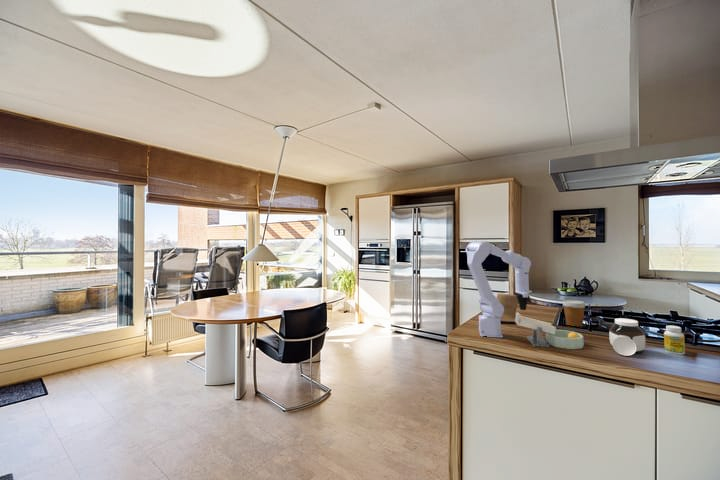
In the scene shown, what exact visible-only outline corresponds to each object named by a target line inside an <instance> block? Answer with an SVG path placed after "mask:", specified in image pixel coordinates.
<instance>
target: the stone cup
mask: <svg viewBox="0 0 720 480" xmlns="http://www.w3.org/2000/svg"><path fill="white" fill-rule="evenodd" d="M516 295H517V294H511V293H497V294H496V298H497V299H498V300H499V302H500V303H501V304H502V305H503V307H504V312H503V314H502V315H501V317H500V322H501V323H516V322H515V317H516V313H517V308H518V307H519V302H518V299H517V297H516Z"/></svg>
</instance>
